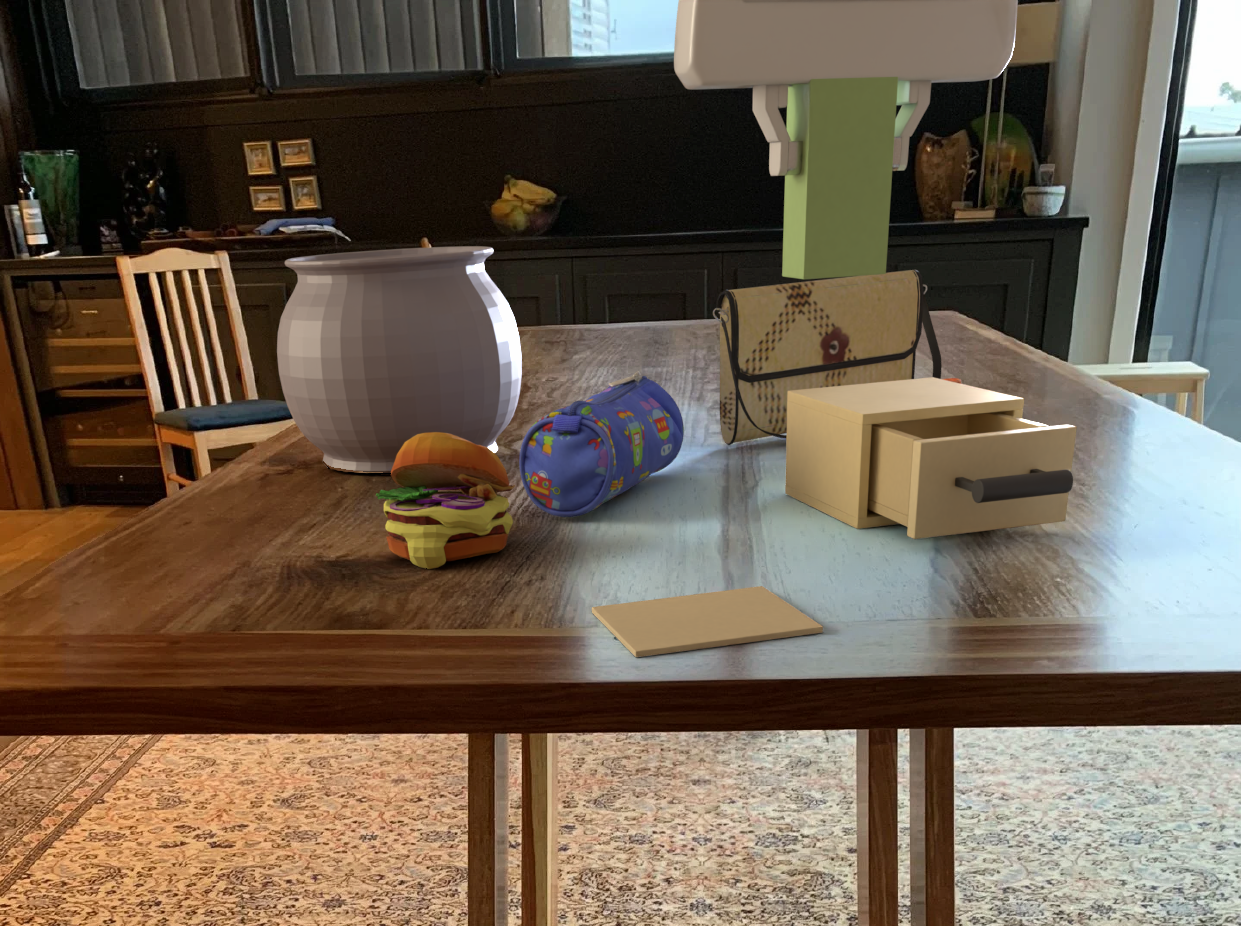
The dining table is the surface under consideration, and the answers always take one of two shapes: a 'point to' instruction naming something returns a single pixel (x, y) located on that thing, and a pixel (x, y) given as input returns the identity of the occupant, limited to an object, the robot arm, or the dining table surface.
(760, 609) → the tan flat wooden board
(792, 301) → the woven shoulder bag
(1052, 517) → the drawer
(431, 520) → the cheeseburger
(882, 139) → the sage green upright pillar
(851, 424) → the cabinet
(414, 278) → the grey round vase
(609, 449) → the pencil case
